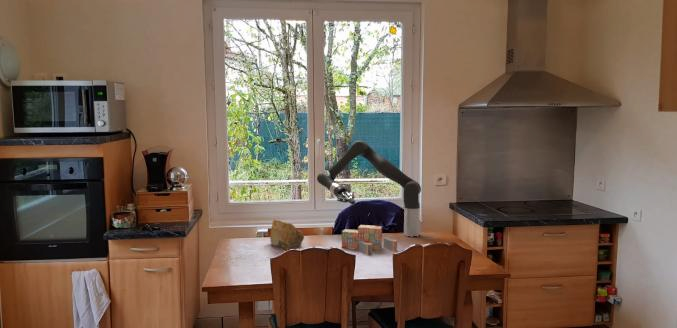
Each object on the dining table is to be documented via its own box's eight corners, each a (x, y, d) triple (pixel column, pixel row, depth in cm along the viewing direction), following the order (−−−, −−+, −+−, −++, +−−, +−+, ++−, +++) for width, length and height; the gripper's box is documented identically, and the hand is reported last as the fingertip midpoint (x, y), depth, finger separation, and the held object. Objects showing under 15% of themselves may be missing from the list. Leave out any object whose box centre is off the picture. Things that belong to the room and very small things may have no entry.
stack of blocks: (341, 248, 250) (341, 226, 249) (344, 245, 256) (344, 223, 255) (380, 251, 245) (380, 228, 244) (381, 248, 251) (382, 226, 250)
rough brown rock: (310, 251, 246) (312, 223, 246) (281, 252, 238) (283, 224, 238) (294, 243, 266) (296, 217, 266) (267, 243, 259) (269, 217, 259)
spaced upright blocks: (386, 246, 254) (386, 236, 253) (397, 250, 245) (397, 240, 244) (358, 250, 245) (358, 240, 245) (368, 254, 237) (368, 244, 236)
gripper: (329, 188, 279) (344, 200, 266) (347, 182, 286) (363, 194, 273) (329, 198, 282) (344, 211, 270) (346, 192, 289) (362, 205, 276)
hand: (354, 202), depth 271 cm, fingers closed
